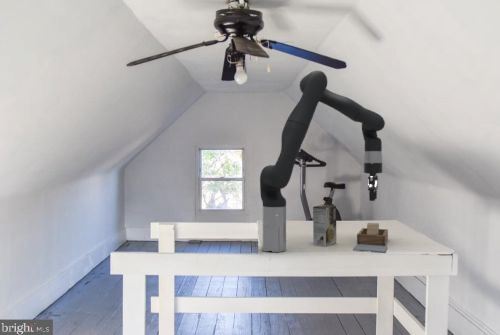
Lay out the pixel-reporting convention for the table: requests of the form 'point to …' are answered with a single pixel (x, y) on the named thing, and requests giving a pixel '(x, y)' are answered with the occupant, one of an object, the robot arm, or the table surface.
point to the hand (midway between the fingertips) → (373, 199)
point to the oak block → (373, 229)
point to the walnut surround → (372, 237)
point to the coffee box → (324, 225)
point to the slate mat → (371, 248)
